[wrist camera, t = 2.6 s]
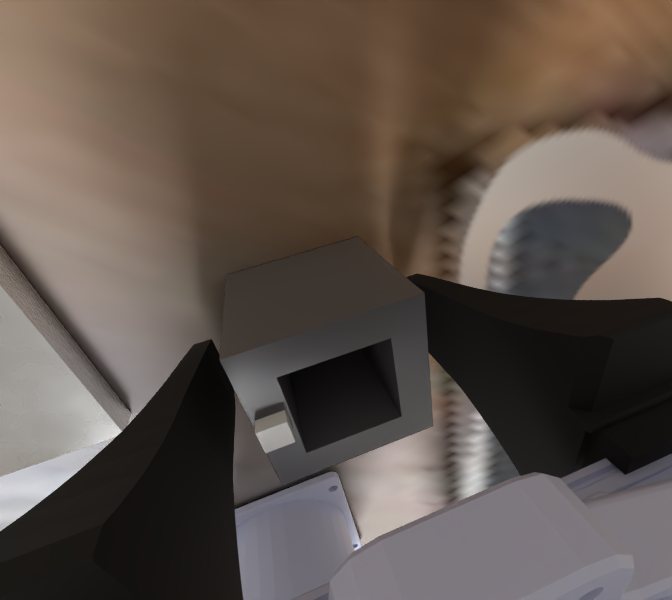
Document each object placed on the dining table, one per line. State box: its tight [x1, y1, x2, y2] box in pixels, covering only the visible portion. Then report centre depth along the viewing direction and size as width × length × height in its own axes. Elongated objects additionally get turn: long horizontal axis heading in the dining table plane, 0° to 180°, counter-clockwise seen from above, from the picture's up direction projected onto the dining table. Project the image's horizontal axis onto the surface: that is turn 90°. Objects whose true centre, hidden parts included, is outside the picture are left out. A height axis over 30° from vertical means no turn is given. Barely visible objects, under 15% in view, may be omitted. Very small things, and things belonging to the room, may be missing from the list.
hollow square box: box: [219, 237, 433, 485], centre depth 11 cm, size 5×5×5 cm
